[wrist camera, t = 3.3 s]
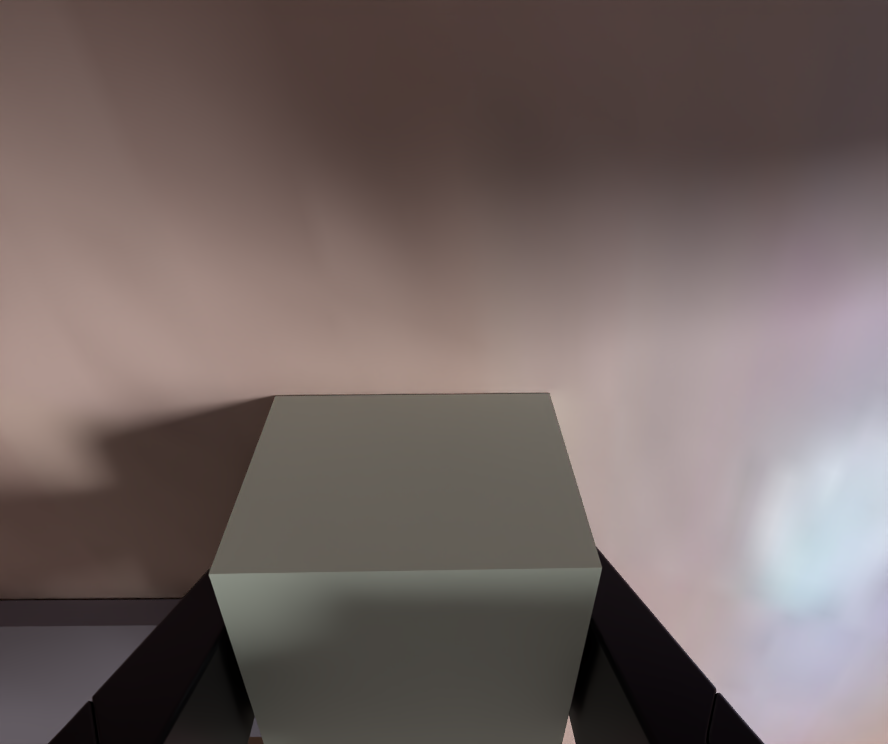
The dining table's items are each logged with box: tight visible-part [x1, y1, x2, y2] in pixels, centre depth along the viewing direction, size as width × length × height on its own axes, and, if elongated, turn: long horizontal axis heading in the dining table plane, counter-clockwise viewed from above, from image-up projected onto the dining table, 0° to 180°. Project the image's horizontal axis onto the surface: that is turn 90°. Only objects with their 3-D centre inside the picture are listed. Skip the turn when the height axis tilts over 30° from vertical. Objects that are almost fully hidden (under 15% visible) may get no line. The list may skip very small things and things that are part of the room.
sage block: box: [209, 393, 602, 744], centre depth 9 cm, size 4×4×4 cm
